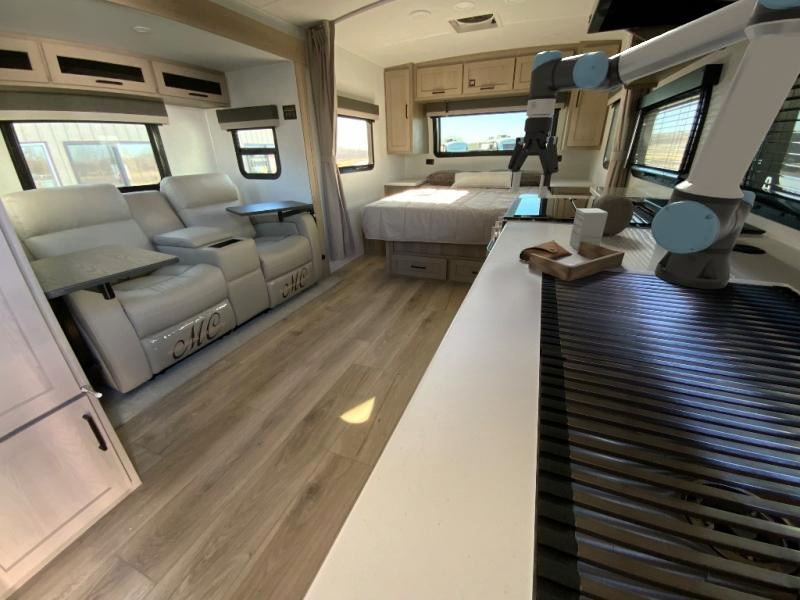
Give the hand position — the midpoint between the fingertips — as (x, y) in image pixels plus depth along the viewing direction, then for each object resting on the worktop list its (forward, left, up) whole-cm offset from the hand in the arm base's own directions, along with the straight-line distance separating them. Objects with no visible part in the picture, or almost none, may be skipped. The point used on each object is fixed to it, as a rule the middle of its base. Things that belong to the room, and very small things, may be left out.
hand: (527, 194), depth 107 cm
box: (-21, 0, -18) cm, 28 cm away
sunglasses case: (-11, 0, -19) cm, 22 cm away
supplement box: (-11, -19, -18) cm, 28 cm away
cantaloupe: (-6, -40, -18) cm, 44 cm away
